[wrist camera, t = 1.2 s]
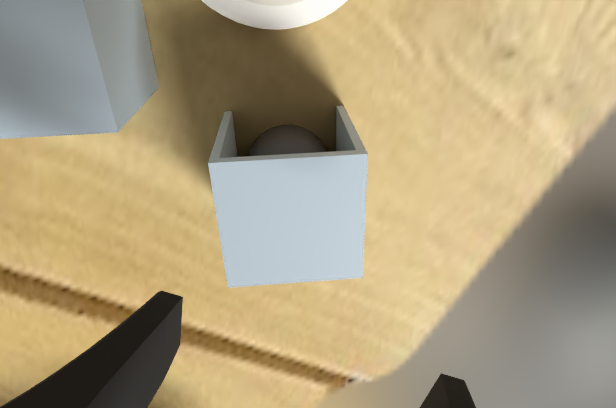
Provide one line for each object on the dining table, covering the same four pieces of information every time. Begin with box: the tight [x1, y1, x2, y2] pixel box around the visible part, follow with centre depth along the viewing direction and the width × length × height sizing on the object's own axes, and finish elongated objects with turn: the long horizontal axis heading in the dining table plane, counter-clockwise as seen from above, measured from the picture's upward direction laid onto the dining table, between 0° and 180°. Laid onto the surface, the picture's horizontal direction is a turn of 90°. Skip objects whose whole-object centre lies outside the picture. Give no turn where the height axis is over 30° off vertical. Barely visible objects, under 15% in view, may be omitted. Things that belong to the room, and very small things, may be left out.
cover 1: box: [0, 0, 159, 139], centre depth 15 cm, size 6×6×6 cm
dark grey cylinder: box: [249, 125, 325, 156], centre depth 20 cm, size 4×4×4 cm
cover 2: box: [208, 105, 368, 287], centre depth 19 cm, size 6×6×6 cm
